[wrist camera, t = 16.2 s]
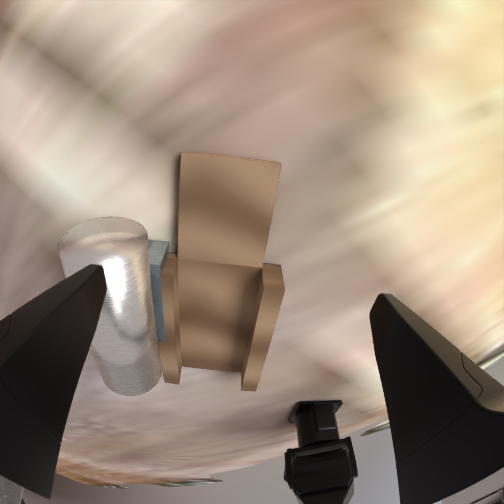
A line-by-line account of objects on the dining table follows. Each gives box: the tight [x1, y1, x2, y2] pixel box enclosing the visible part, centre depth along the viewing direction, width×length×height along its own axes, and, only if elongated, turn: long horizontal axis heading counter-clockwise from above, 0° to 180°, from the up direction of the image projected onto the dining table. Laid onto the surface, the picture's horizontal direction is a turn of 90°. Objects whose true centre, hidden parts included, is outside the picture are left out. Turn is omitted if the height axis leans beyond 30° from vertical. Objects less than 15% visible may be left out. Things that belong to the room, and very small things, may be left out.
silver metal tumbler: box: [58, 217, 162, 396], centre depth 19 cm, size 13×6×6 cm, turn 172°
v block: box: [148, 240, 169, 341], centre depth 22 cm, size 8×6×3 cm
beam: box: [155, 152, 285, 391], centre depth 23 cm, size 22×9×3 cm, turn 172°
